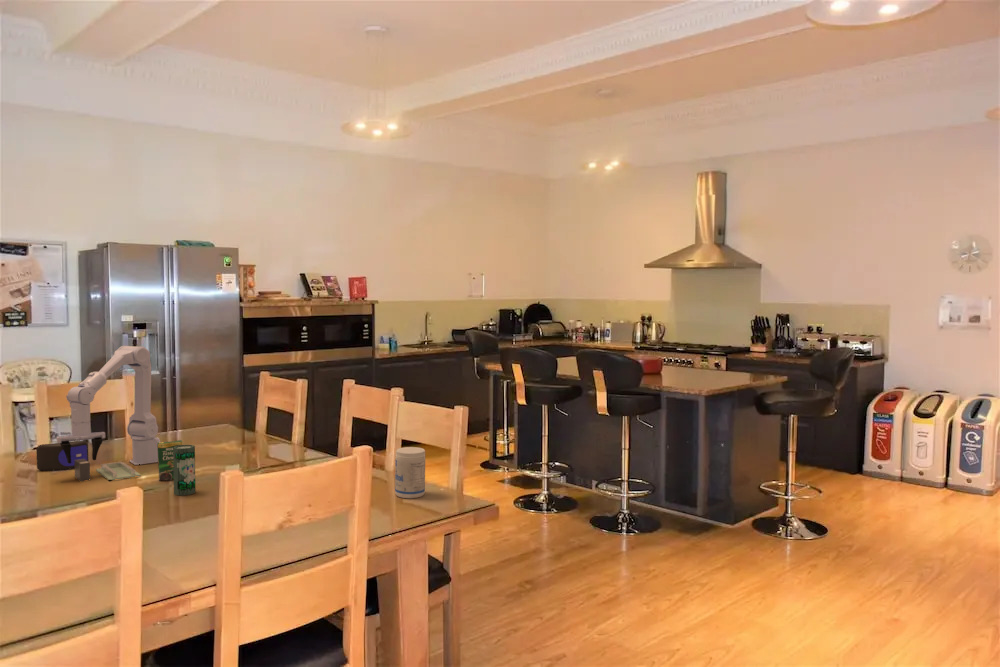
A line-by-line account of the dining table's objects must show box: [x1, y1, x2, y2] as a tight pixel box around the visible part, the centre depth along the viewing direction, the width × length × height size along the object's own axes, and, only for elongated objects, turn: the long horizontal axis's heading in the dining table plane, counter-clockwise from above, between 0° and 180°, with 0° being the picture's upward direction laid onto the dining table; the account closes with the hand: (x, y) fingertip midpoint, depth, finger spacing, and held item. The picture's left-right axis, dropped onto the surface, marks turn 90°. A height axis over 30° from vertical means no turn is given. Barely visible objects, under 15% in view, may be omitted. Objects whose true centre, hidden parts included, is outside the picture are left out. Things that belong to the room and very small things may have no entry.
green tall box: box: [173, 444, 197, 497], centre depth 246 cm, size 6×6×15 cm
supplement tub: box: [394, 446, 426, 499], centre depth 246 cm, size 10×10×15 cm
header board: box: [95, 461, 142, 481], centre depth 269 cm, size 10×18×2 cm, turn 40°
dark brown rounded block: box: [35, 440, 90, 472], centre depth 275 cm, size 16×5×9 cm, turn 123°
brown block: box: [74, 459, 91, 482], centre depth 263 cm, size 3×8×6 cm, turn 40°
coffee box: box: [157, 439, 183, 482], centre depth 262 cm, size 8×3×13 cm, turn 115°
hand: (81, 461), depth 262 cm, fingers open, 7 cm apart
